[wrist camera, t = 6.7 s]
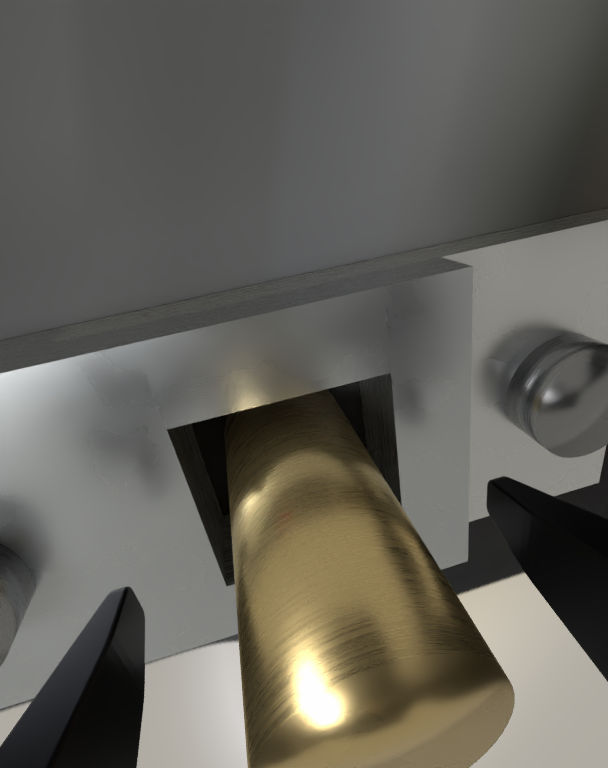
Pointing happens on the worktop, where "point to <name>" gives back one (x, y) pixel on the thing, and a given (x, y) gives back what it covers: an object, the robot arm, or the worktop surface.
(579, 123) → the worktop surface
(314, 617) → the brass pin
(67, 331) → the plate with square hole
